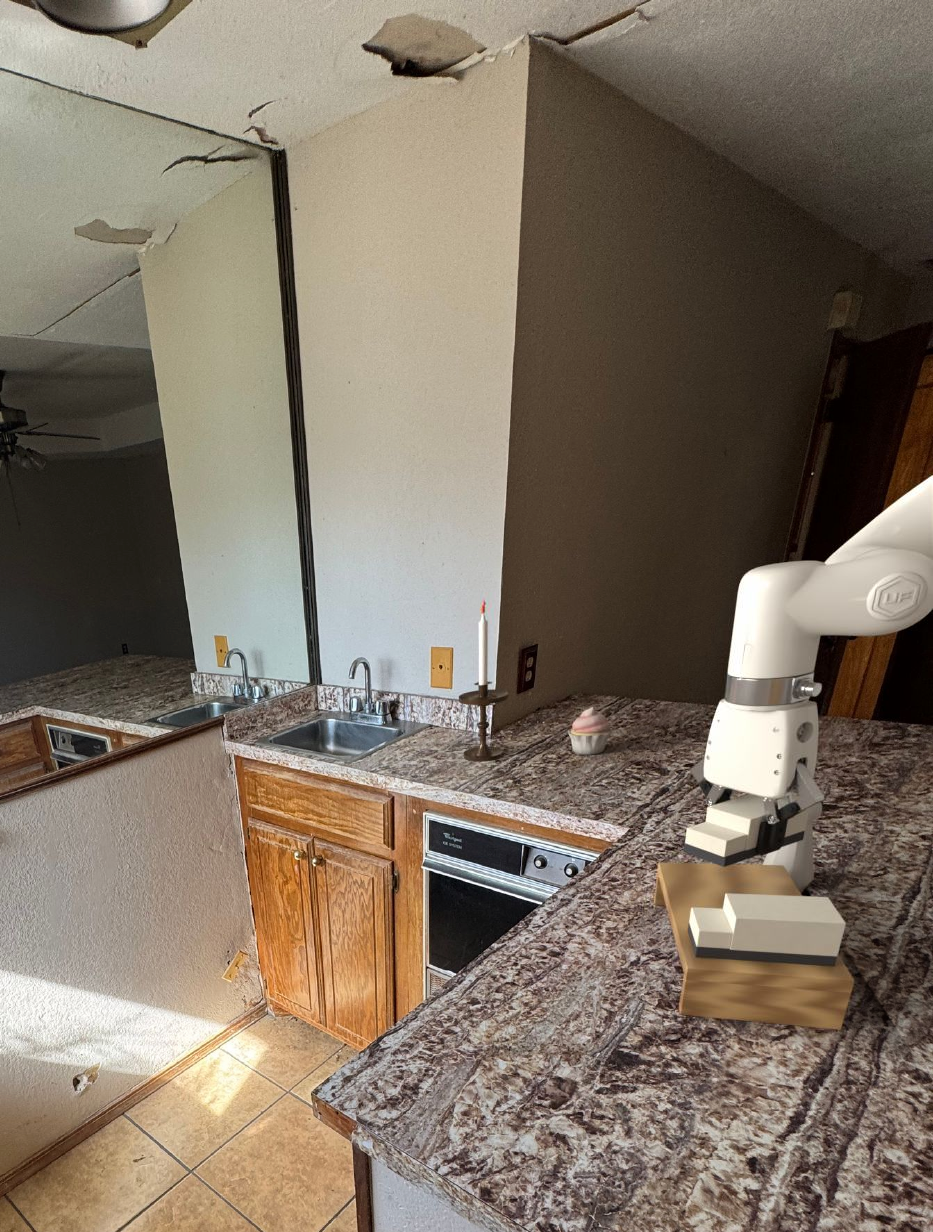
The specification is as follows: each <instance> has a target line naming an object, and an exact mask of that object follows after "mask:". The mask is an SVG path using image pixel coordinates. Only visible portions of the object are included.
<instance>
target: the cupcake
mask: <svg viewBox="0 0 933 1232" xmlns="http://www.w3.org/2000/svg"><path fill="white" fill-rule="evenodd" d="M613 732H614V729H612V727H611V722H610V721H609V720H608V719H606V716H605V714H602V713H601V712H599V711H597V710H596V709H595V708H594V706H592V707H590V708H587V709H585V710H584V711H582V713H580V715H579V716H578V717H577V718H576V719H575V720H574V721H573V722H572V727H571V728H570V729H568V730H567V733H568V736H569V738H570V741H571V747H572V751H573V753H575V754H576V755H577V754H578V755H584V756H591V755H596V754H601V753H602V752H604V750H605V748H606V744H607V742H608V740H609V737H610V736H611V735H612V734H613Z"/></svg>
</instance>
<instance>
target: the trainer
mask: <svg viewBox="0 0 933 1232" xmlns="http://www.w3.org/2000/svg"><path fill="white" fill-rule="evenodd" d="M792 797H793V802H794V801H796V800H797V799H799V797H797V796H795V795H792ZM777 802H778V808H779V809H780V805H779V799H778V800H777ZM706 808H707V809H706V814H705V815H706V816H705V821H704V822H701V823H698V824H695V825H692V826H688V827H686V833H685V841H684V843H683V850H682V852H683V853H685V854H688V855H690V856H693V857H697V858H698V859H701V860H704V861H707V862H708V863H711V864H717V865H720V866H723V867H726V866H729V865H732V864H738V863H740V862H744V861H746V860H748V859H749V860H750V859H752V858H754V857H758V856H759V855H758V854H757V853H756V846H757V840H758V834H759V828H760V824H761V822H764V821H767V820H766V815H765V810H764V804H763V798H762V797H760V796H756V795H752V794H748V793H746V794H745V795H741V796H738V797H735V798H732V799H731V800H728V801H725V802H722V803H719V804H716V805H713V806H707V807H706ZM808 812H809V808H807V809H806V810H804V811H802V812H801V813H799V814H797V815H795V816H794V817H793V818H791V819H788V822H787V828H786V833H785V839H784V843H783V845H782V847H784V846H787V845H789V844H792V843H795V842H798V841H801V840H803V838H804V832H805V827H806V822H807V817H808Z"/></svg>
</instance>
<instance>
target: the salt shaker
mask: <svg viewBox="0 0 933 1232" xmlns="http://www.w3.org/2000/svg"><path fill="white" fill-rule="evenodd" d="M796 797H800V795H799V796H798V795H797V796H796ZM822 812H823V804H822V802H820V803H818V804H816V805H814V806H812V807H810V808H809V812H808V817H807V822H806V827H805V832H804V838H803V840H801V841H798V842H795V843H792V844H789V845H787V846H784V847H781V849H779V850H777V851H774V852H771V853H768V854H765V855H766V856H765V858H764V860H763V862H762V864H761V865H783V866H784V867H785V869H786V870H787V872H788V874H789V875H790V877H791V879H792V880H793V882H794V883H795V885H796V887H797V888H798V890H799V891H800V893H801V894H802V893H803V892H804V890H806V888H807V887H808V886H809V884H811V883H812V881H813V880H814V878H815V874H814V872H815V870H814V869H815V868H814V866H815V865H814V864H815V863H814V837H813V836H814V834H813V833H814V832H813V831H814V828H813V827H814V821H817V820H818V819H819V818H820V816H821V815H822Z"/></svg>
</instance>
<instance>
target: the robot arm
mask: <svg viewBox="0 0 933 1232" xmlns="http://www.w3.org/2000/svg"><path fill="white" fill-rule="evenodd" d="M739 582H740V583H739V586H738V590H737V597H736V603H735V611H734V612H735V613H734V620H733V627H732V636H731V642H730V650H729V658H728V666H727V674H726V680H725V681H726V682H725V689H724V697H723V698H722V699H721V700H719V702H718V704H717V707H716V710H715V713H714V716H713V719H712V722H711V725H710V729H709V733H708V738H707V743H706V748H705V754H704V757H703V758H702V759H700V760H699V761H698V762H696V764H695V765H693V767H691V768H690V773H691V775H692V776H693V777H694V779H695V780H696V782H697V783H698V784H699V788H700V790H701V791H702V793H703V795H704V796H705V803H706V805H707V807H710V806H713V805H716V804H719V803H722V802H725V801H728V800H732V799H733V797H734V795H735V793H736V792H740V793H745V794H752V795H756V796H760V797H762V798H763V804H764V810H765V815H766V820H767V821H764V822H761V824H760V828H759V834H758V840H757V846H756V853H757V854H758V856H762V857H763V856H765V855H767V854H768V853H771V852H774V851H777V850H779V849H781V847H782V845H783V843H784V839H785V833H786V828H787V822H788V819H791V818H793V817H794V816H795V815H797V814H799V813H801V812H802V811H804V810H806V809H807V808H810V807H812V806H814V805H816V804H818V803H820V802H821V803H822V802H823V801H825V795H824V794H823V793H824V792H823V791H822V790H821V789H820V787H819V786H818V784H817V782H816V781H815V779H814V778H815V773H816V772H815V771H816V767H817V759H818V758H817V757H818V748H819V713H818V705H817V704H818V703H817V702H816V701H813V700H812V701H811V700H809V699H810V698H811V697H817V696H819V694H820V693H821V692H822V689H823V684H822V683H820V682H815V681H814V677H815V667H816V661H817V655H818V651H819V645H820V639H821V636H848V637H852V636H853V637H855V636H856V637H874V636H875V637H876V636H877V637H878V636H884V635H889V634H893V633H897V632H900V631H902V630H905V629H908V628H909V627H911V626H913V625H915V624H916V623H917V624H918V622H920V621H921V620H922V619H924V618H925V617H926V616H927V615H928V614H929V613H930V612H931V611H932V610H933V474H932V475H931V476H929V477H928V478H926V479H925V480H923V481H922V482H921V483H919V484H918V485H916V486H915V487H913V488H912V489H911V490H910V491H908V492H907V493H905V494H904V495H902V496H901V497H900V498H898V499H897V500H896V501H895V502H893V503H892V504H891V505H889V506H888V507H887V508H886V509H884V510H883V511H882V512H881V513H879V514H878V515H877V516H876V517H874V519H872V520H871V521H870V522H869V523H867V524H866V525H865V526H864V527H863V528H861V529H860V530H859V531H858V532H857V533H855V534H854V535H853V536H852V537H851V538H849V539H848V540H847V541H846V542H845V543H843V545H841V546H840V547H839V548H838V549H837V550H836V551H835V552H833V553H832V554H831V555H830V556H829V557H828V558H827V559H826V560H825V561H819V560H796V561H794V560H793V561H787V562H785V561H784V562H779V563H777V562H776V563H771V564H765V565H762V566H758V567H755V568H753V569H751V570H749V571H747V572H746V573H745V574H744V575H743V576H742V578H741V580H740V581H739ZM793 791H795V792H798V795H799V796H800V797H799V799H797V800H796V801H794V802H793V797H792V796H793ZM778 799H779V805H780V809H779V808H778V802H777V800H778Z"/></svg>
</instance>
